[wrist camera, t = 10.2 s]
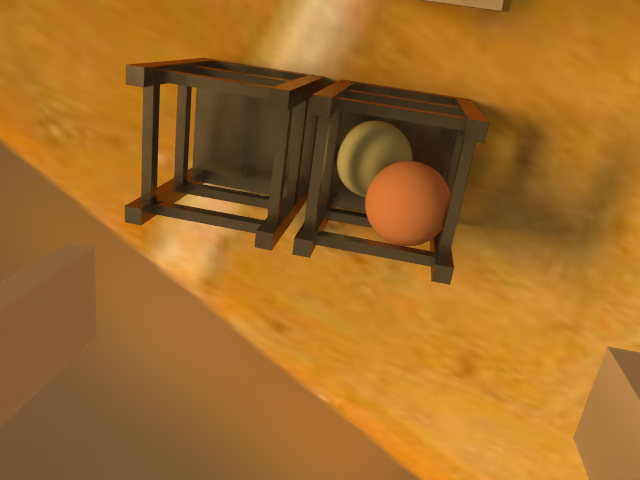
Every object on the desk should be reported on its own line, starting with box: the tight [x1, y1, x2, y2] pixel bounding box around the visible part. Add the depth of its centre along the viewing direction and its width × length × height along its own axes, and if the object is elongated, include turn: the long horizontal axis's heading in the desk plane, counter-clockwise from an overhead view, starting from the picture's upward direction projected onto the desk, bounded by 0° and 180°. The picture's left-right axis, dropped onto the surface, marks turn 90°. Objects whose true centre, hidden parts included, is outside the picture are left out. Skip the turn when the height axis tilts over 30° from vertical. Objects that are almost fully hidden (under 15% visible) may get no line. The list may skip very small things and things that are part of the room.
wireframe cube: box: [125, 58, 324, 250], centre depth 35 cm, size 9×9×11 cm
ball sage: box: [335, 121, 412, 197], centre depth 36 cm, size 5×5×5 cm
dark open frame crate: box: [293, 79, 489, 285], centre depth 34 cm, size 9×9×11 cm
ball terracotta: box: [365, 161, 450, 246], centre depth 33 cm, size 5×5×5 cm
